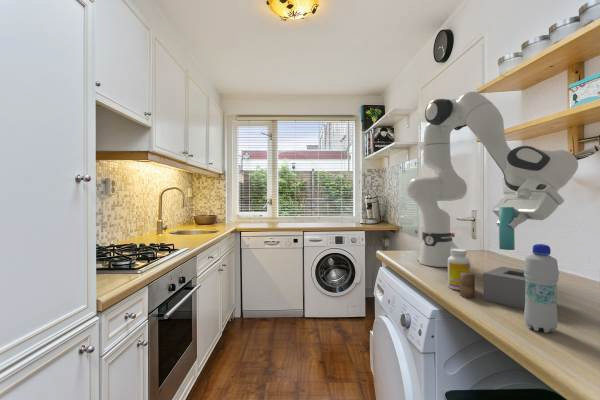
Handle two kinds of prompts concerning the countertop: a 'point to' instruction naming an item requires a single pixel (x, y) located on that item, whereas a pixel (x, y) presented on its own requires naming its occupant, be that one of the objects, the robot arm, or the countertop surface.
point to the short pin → (467, 285)
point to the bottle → (541, 289)
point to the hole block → (505, 287)
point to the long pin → (506, 228)
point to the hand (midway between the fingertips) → (504, 225)
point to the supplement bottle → (457, 267)
